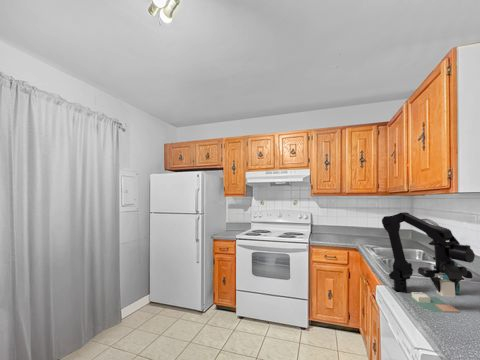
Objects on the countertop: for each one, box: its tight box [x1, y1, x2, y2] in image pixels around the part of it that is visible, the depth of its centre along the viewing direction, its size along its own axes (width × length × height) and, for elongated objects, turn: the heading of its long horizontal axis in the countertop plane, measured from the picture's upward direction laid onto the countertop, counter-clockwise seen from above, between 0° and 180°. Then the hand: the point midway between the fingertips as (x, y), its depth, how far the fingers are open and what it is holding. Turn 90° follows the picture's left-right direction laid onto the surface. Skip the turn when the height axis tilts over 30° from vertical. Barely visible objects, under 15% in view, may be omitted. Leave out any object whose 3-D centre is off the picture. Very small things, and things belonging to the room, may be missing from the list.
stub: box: [435, 278, 456, 298], centre depth 107 cm, size 4×5×6 cm
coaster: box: [435, 304, 461, 313], centre depth 106 cm, size 6×6×1 cm
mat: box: [407, 295, 461, 314], centre depth 111 cm, size 16×13×1 cm
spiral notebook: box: [411, 291, 431, 303], centre depth 115 cm, size 6×5×2 cm
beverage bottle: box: [442, 257, 461, 294], centre depth 122 cm, size 6×7×20 cm
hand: (445, 292), depth 107 cm, fingers closed on stub, 5 cm apart
